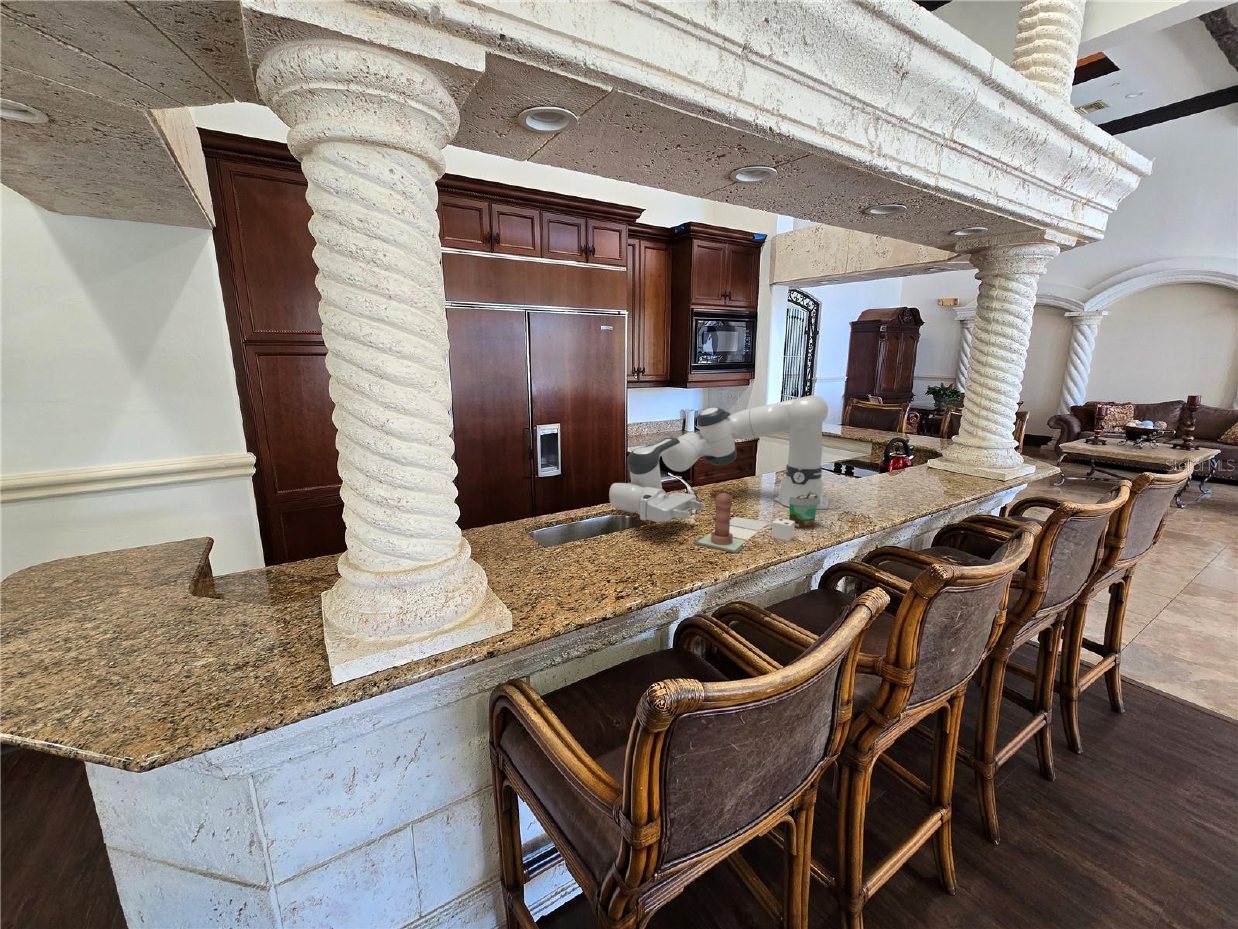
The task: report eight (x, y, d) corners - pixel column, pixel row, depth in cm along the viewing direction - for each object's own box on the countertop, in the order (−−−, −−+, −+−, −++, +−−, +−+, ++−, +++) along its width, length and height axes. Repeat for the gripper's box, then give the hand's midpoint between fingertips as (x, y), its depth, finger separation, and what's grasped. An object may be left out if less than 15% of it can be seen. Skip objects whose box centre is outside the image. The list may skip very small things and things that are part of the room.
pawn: (715, 536, 145) (718, 489, 142) (735, 540, 142) (738, 492, 139) (707, 542, 140) (709, 493, 137) (727, 546, 137) (730, 496, 134)
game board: (733, 516, 165) (733, 515, 165) (772, 523, 158) (772, 522, 158) (692, 543, 140) (692, 542, 140) (736, 553, 133) (736, 552, 133)
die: (776, 534, 149) (777, 517, 148) (793, 537, 146) (794, 520, 145) (771, 538, 145) (772, 522, 144) (788, 542, 142) (790, 525, 141)
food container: (805, 533, 150) (807, 501, 148) (786, 528, 154) (789, 497, 152) (824, 525, 158) (828, 494, 156) (806, 520, 162) (809, 490, 160)
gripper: (671, 504, 160) (711, 512, 152) (637, 521, 143) (680, 530, 136) (671, 485, 158) (712, 492, 151) (637, 500, 142) (681, 508, 134)
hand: (696, 511), depth 143 cm, fingers open, 8 cm apart
